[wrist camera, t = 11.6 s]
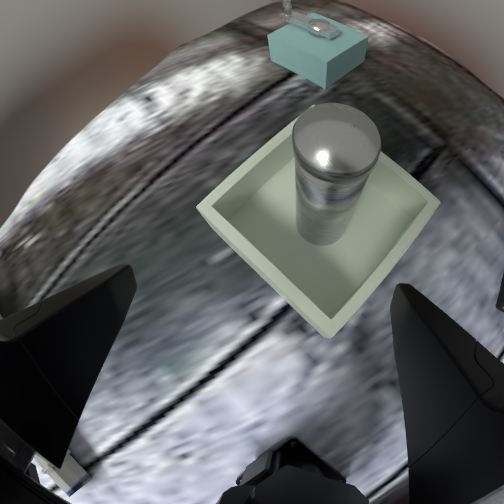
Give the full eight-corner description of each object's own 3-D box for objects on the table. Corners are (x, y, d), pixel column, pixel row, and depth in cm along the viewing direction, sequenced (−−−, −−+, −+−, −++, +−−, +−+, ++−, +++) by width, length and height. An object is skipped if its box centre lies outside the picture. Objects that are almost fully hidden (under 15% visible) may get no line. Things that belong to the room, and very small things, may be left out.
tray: (419, 223, 23) (440, 202, 18) (324, 337, 21) (331, 338, 17) (312, 136, 26) (313, 104, 22) (212, 228, 25) (195, 206, 21)
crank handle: (347, 30, 25) (349, -4, 20) (319, 46, 24) (319, 8, 20) (298, 11, 27) (296, -21, 22) (268, 25, 26) (263, -9, 22)
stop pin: (358, 220, 22) (398, 135, 12) (323, 258, 22) (346, 191, 12) (318, 187, 24) (329, 89, 13) (283, 222, 23) (272, 135, 13)
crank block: (364, 61, 28) (368, 36, 25) (325, 89, 28) (327, 62, 24) (312, 35, 31) (312, 12, 27) (271, 60, 30) (267, 35, 26)
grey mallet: (61, 503, 16) (-56, 318, 20) (89, 478, 23) (-21, 319, 26) (81, 487, 17) (-44, 289, 20) (110, 460, 23) (-8, 293, 27)
